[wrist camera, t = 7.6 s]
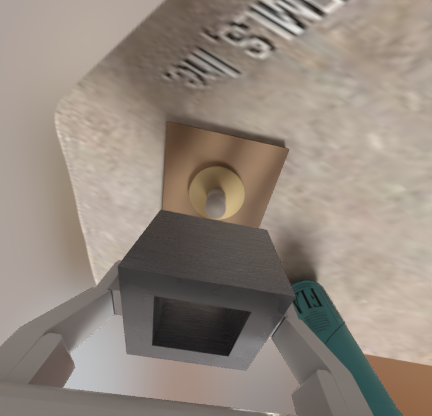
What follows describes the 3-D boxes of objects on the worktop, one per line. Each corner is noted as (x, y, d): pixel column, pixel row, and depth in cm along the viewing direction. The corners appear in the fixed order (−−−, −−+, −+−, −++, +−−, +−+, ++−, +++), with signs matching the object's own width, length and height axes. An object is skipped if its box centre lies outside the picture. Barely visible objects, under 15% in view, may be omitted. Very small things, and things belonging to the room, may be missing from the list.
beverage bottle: (307, 266, 27) (461, 522, 10) (326, 285, 29) (485, 529, 12) (275, 283, 30) (353, 517, 12) (295, 300, 32) (388, 523, 14)
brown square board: (285, 147, 19) (309, 155, 14) (251, 239, 25) (258, 268, 20) (170, 121, 18) (148, 119, 13) (164, 222, 25) (147, 248, 19)
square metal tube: (266, 230, 9) (296, 296, 5) (238, 296, 12) (246, 370, 8) (160, 209, 9) (117, 266, 5) (157, 282, 11) (126, 354, 8)
